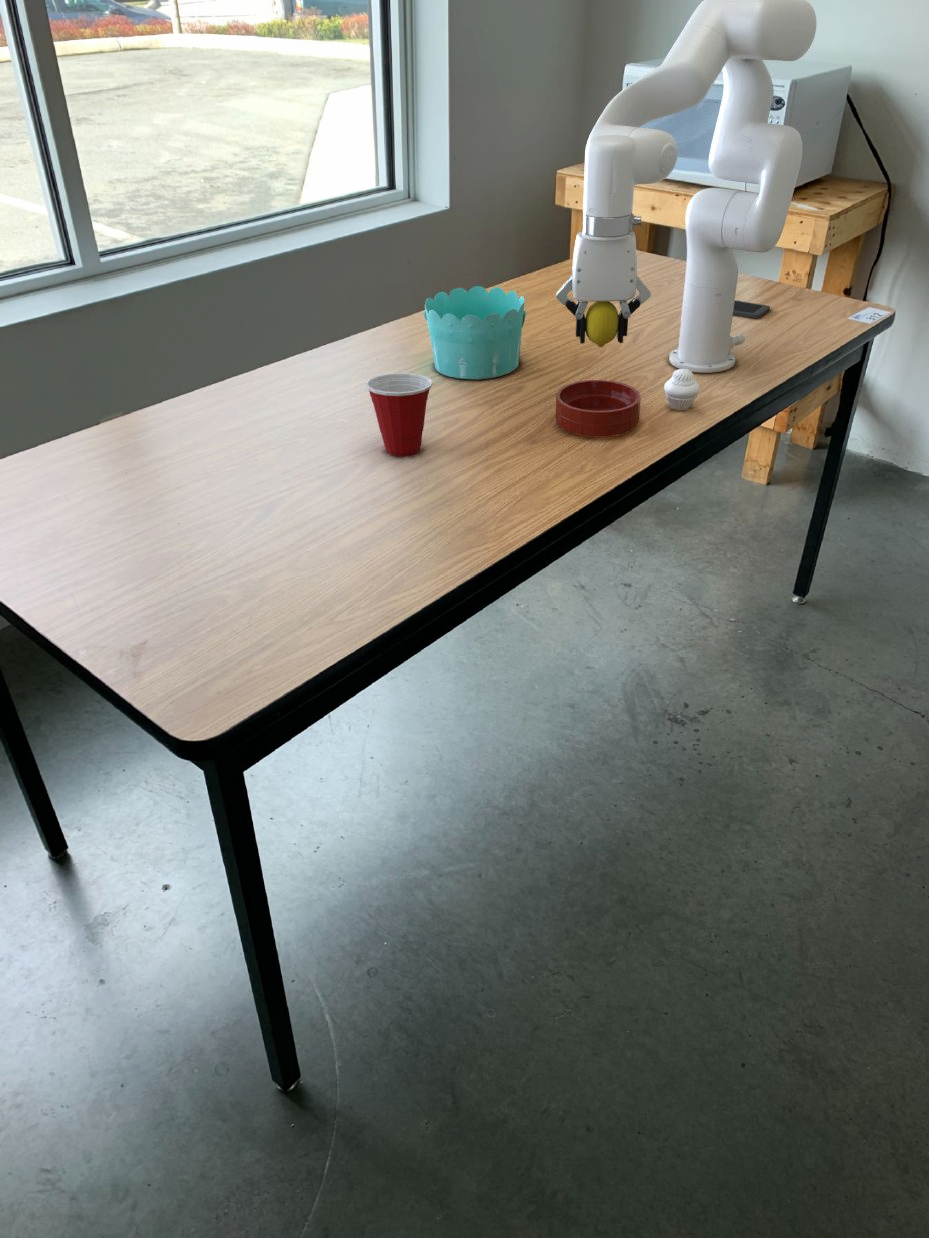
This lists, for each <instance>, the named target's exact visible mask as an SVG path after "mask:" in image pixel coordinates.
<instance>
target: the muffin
mask: <svg viewBox="0 0 929 1238" xmlns="http://www.w3.org/2000/svg"><path fill="white" fill-rule="evenodd" d="M663 390H664V394H665V397H666V400H667V401H668V404H669V406H670V408H671V409H673V410H675V411H686V410H688V409H689V408H691V405H693V402H694V401H695V400H696V398H697V397H698V394H699V392H700V385H699V384H698V382H697V381H696V379H695V377H694V372H691V371H690V370H688V369H679V368H677V369H676V370H675V371H674V372H672V376H671V377H670V379H668V380H667V381H666V382H665V383H664V387H663Z"/></svg>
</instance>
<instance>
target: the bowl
mask: <svg viewBox="0 0 929 1238" xmlns="http://www.w3.org/2000/svg"><path fill="white" fill-rule="evenodd" d="M641 398H642V396H641V394H640V391H638V390H637V389H636V388H635V387H634V386H631V385H629V384H627V383H625V382H619V381H615V380H606V379H586V380H580V381H574V382H571V383H568V384H565V385H564V386H562V387H561V388H559V389H558V390H557V392H556V393H555V423H556V424H557V426H558V427H559V428H560V429H562V430H564V431H566V432H568V433H570V434H575V435H579V436H583V437H592V438H599V437H600V438H603V437H605V438H606V437H614V436H618V435H623V434H626V433H629V432H631V431H632V430H634V429H636V427H637V426H638V424H639V422H640V413H641V402H642V401H641V400H642V399H641Z"/></svg>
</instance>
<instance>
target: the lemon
mask: <svg viewBox="0 0 929 1238" xmlns="http://www.w3.org/2000/svg"><path fill="white" fill-rule="evenodd" d="M618 315H619V311H618V309H617V307H616V305H614V304H613V303H612V301H602V302H593V303H592V304H591V305H590V306H589V307H588V309H587V312H586V314H585V319H586V325H585V336H586V337H587V339H589V341H590V342H592V343H593V344H595V345H596V346H597V347H598V348H604V346H605V345H607V344H609V343H611V342H612V341H613V340H614V339H615V337H617V331H618V328H619V316H618Z"/></svg>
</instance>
